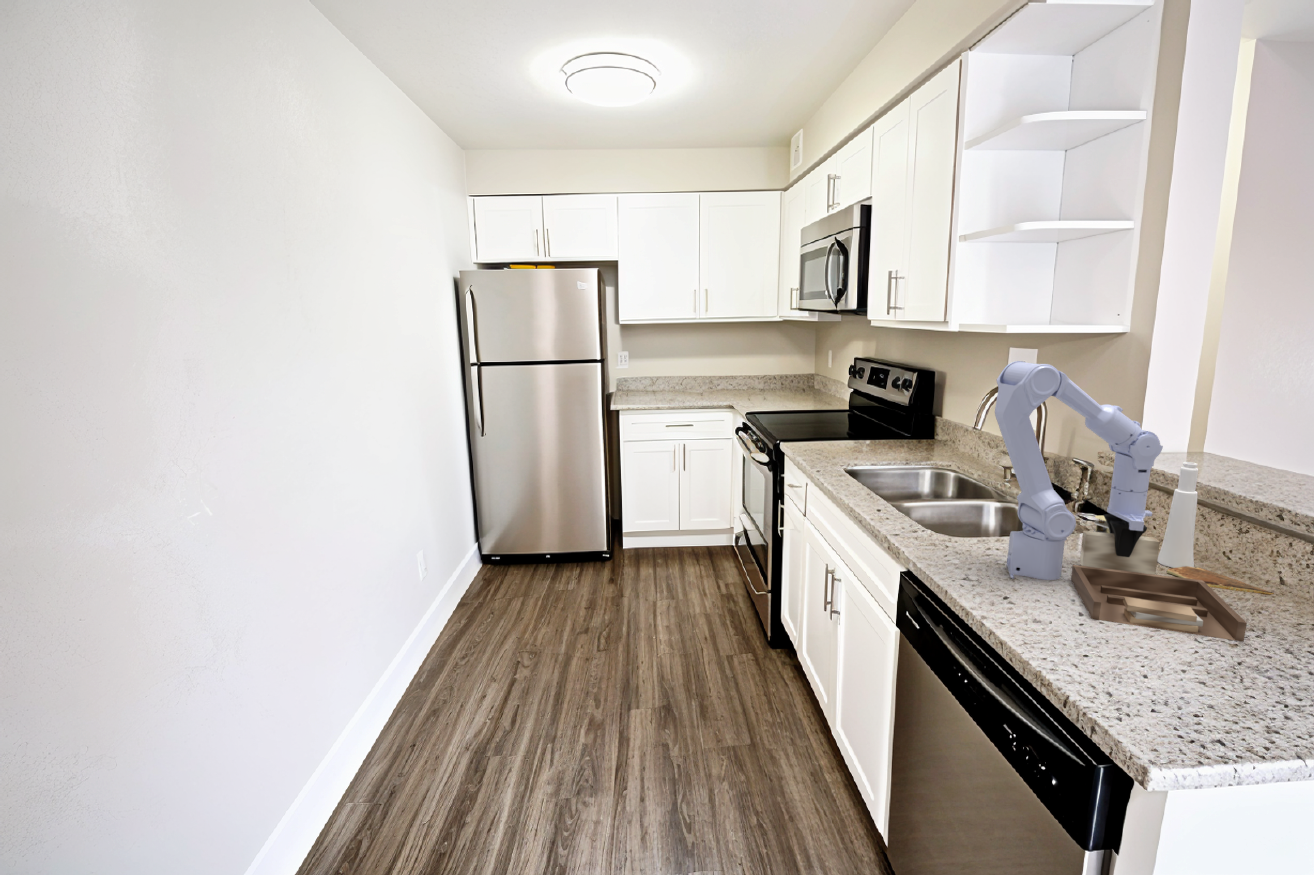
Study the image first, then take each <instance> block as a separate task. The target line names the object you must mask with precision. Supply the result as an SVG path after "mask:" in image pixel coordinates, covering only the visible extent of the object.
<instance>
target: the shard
mask: <svg viewBox="0 0 1314 875" xmlns="http://www.w3.org/2000/svg"><path fill="white" fill-rule="evenodd" d="M1166 573H1167V574H1170V575H1172V576H1173V577H1179V578H1187V579H1195V580H1203V581H1204V582H1205V583H1206V584H1207V585H1208V586H1209V587H1210V588H1214V589H1215V588H1217V589H1224V590H1229V591H1237V592H1246V593H1255V594H1262V595H1271V596H1272V595H1274V594H1275V592H1274V591H1273V592H1272V591H1268V590H1266V589H1263V588H1260V587H1258V586H1255V585H1251V584H1248V583H1246V582H1243V581H1241V580H1238V579H1235V578H1232V577H1229V576H1227V575H1224V574H1221V573H1218V572H1215V571H1212V570H1208V569H1206V568H1203V567H1202V568H1201V567H1195V566H1194V567H1189V566H1185V567H1178V568H1171V567H1170V568H1168V569H1167V570H1166Z"/></svg>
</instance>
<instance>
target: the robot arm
mask: <svg viewBox="0 0 1314 875" xmlns="http://www.w3.org/2000/svg"><path fill="white" fill-rule="evenodd" d="M996 384H997V387H998V389H997V396H996V400H995V401H996V402H995V407H994V416H995V419H996V422H997V425H998V428H999V431H1000V434H1001V436H1002V439H1003V442H1004V444H1005V449H1006V451H1007V454H1008V456H1009V459H1010V460H1009V461H1010V462H1011V465H1012V468H1013V472H1014V474H1015V477H1016V480H1017V483H1018V486H1019V489H1020V493H1019V494H1017V496H1016V499H1017V502H1018V503H1017V504H1018V505H1017V506H1018V507H1017V517H1018V519H1019V521H1020V522H1021V523H1022V530H1020V531H1019V530H1018V531H1015V530H1011V531H1010V534H1009V539H1008V548H1007V550H1008V551H1007V557H1006V567H1007V571H1008V574H1009V577H1010V579H1012V580H1013V579H1014V580H1015V579H1016V578H1015V576H1023V577H1029V578H1034V579H1038V580H1046V581H1050V580H1051V581H1053V580H1054V581H1055V580H1059V579H1060V578H1061V576H1062V569H1063V559H1064V551H1065V550H1064V549H1065V542H1066V541H1067V538H1068V537H1070V536H1071V535H1072V534H1073V532H1074V530H1075V529H1076V526H1077V521H1076V517H1075V515H1074V513H1072V512H1071V511H1070V510H1069V509H1068V508H1067V505H1066V504H1065V500H1064V499H1063V498H1062V497H1061V496H1060V495H1059V494H1058V493H1057V492H1056V490H1054V487H1053V484H1052V480H1051V478H1050V476H1049V472H1048V469H1047V466H1046V464H1045V461H1044V457H1043V455H1042V452H1041V451H1042V450H1041V449H1040V446H1039V443H1038V439H1037V437H1036V434H1035V430H1034V427H1033V425H1032V422H1031V419H1030V416H1031V415H1032V413H1033V412H1034V411H1035V410H1036V409H1037V408H1038V407H1040V406H1041V405H1042V404H1043V403H1044V402H1045V401H1046V400H1048V399H1049V398H1050V397H1054V398H1056V399H1057V400H1059V401H1060V402H1061V403H1063V404H1065V405H1066V406H1068V407H1069V408H1071V409H1072V410H1073V411H1075V412H1077V414H1079V415H1081V416H1082V417H1084V418H1085V419H1084V425H1085V427H1086V428H1087V429H1089V430H1090V431H1091V432H1092V433H1094V434H1095V435H1096V436H1098V437H1099V438H1100V439H1102V440H1103V441H1105V442H1106V443H1107V444H1108V448H1109V450H1110V451H1111V452H1114V453H1115V455H1114V463H1113V470H1112V471H1113V472H1112V478H1111V486H1110V494H1109V502H1108V506H1107V508H1106V512H1107V513H1108V514H1103V516H1104V517H1105V519H1106V522H1107V524H1108V527H1109V532H1110V533H1112V534H1114V537H1115V551H1116V555H1117V556H1122V557H1130V555H1131V553H1132V551H1133V549H1134V547H1135V545H1136V543H1137V541H1138V539H1139V538H1140V537H1141V536H1142V535H1144V534H1145V533H1146V531H1147V530H1148V527H1147V526H1146V525H1145V521H1144V519H1145V518H1146V517H1152V516H1153V512H1152V511H1151V510H1147V509H1146V507H1147V506H1146V504H1147V499H1148V498H1147V497H1148V491H1149V486H1150V485H1149V484H1150V478H1151V477H1150V476H1151V471H1152V467H1154V466H1155V465H1154V464H1155V460H1156V459H1157V458H1158V457H1159V455H1160V454H1161V453H1162V451H1163V448H1164V446H1163V445H1162V444H1161V441H1160V438H1159V437H1158V435H1157V434H1155V433H1154V432H1152V431H1150V430H1145V429H1142V427H1141V423H1140V421H1137V420H1132V419H1130V417H1128V416H1127V415H1125V414H1124V413H1123V411H1124V409H1123V408H1122V407H1121V406H1119V405H1112V404H1099V403H1098V402H1097V401H1096V400H1095V399H1094V398H1092V396H1090V395H1089V394H1087V392H1086V391H1084V390H1083V389H1081V387H1079V385H1077V383H1075V381H1074V382H1073V381H1072V380H1071V379H1070V378H1069V377H1068V375H1067V373H1064V372H1063V371H1061V370H1058V368H1056V367H1055V366H1053V365H1052V364H1049V363H1032V362H1026V361H1023V360H1015V361H1012V362H1010V363H1008V364H1007V365H1006V366H1005V367H1004V368H1003V369H1002V371H1001V373H999V375H998V377H997V378H996ZM1017 568H1019V569H1017Z"/></svg>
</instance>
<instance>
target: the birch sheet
mask: <svg viewBox="0 0 1314 875" xmlns="http://www.w3.org/2000/svg"><path fill="white" fill-rule="evenodd" d="M1160 543H1161V541H1160V540H1159V539H1158V538H1156V537H1153V536H1152V537H1151V536H1141V537H1140V538H1139V539H1138V541H1137V543H1136V545H1135V547H1134V549H1133V551H1132V553H1131V555H1130V557H1122V556H1117V555H1116V551H1115V537H1114V534H1112V533H1102V532H1094V531H1092V530H1091V531H1090V530H1083V531H1082V539H1081V548H1080V549H1081V550H1080V558H1079V564H1080V566H1088V567H1096V568H1104V569H1113V570H1121V571H1129V572H1137V573H1146V574H1154V575H1157V574H1156V573H1157V565H1158V562H1157V559H1158V555H1159V552H1160V546H1161V545H1160Z"/></svg>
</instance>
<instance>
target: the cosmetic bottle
mask: <svg viewBox="0 0 1314 875" xmlns="http://www.w3.org/2000/svg"><path fill="white" fill-rule="evenodd" d="M1182 465H1183V466H1181V467H1180V470H1179V478H1178V483H1177V488H1174V492H1173V496H1172V501H1171V506H1170V509H1169V515H1168V519H1167V522H1166V528H1165V529H1166V530H1165V533H1164V537H1163V541H1162V544H1161V547H1160V549H1159V552H1158V559H1157V564H1160V565H1162V566H1165V567H1168V568H1170V569H1171V568H1178V567H1185V566H1189V567H1194V568H1195V563H1194V561H1195V560H1194V559H1195V558H1194V542H1195V539H1194V538H1195V528H1196V518H1197V508H1198V507H1197V506H1198V491H1196V488H1197V482H1198V476H1199V468H1198V465H1199V464H1198V463H1197V462H1192V461H1183V462H1182Z"/></svg>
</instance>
